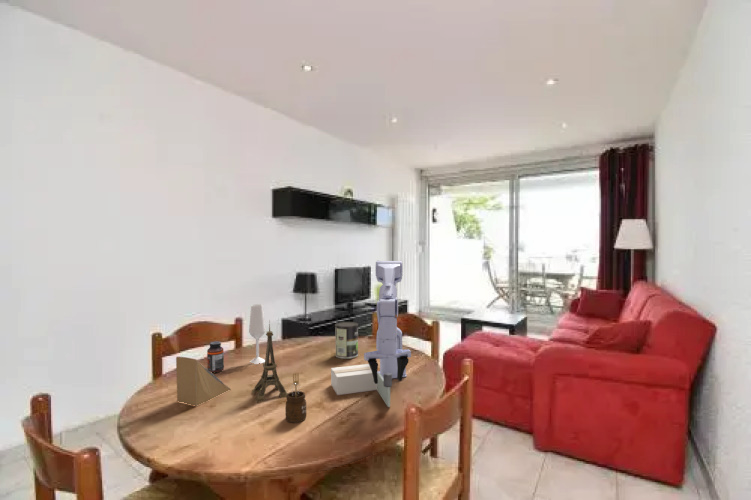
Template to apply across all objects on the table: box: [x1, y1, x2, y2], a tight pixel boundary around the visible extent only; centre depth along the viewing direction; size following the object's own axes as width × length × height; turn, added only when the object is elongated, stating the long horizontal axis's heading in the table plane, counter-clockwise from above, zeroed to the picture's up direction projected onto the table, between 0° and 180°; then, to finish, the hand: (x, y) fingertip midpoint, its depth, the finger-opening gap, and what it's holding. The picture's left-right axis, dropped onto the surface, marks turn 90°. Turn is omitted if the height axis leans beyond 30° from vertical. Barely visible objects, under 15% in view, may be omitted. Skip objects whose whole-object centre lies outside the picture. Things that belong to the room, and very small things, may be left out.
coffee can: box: [334, 321, 359, 360], centre depth 171 cm, size 10×10×14 cm
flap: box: [376, 372, 393, 408], centre depth 124 cm, size 14×3×10 cm, turn 14°
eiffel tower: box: [251, 319, 289, 403], centre depth 128 cm, size 11×11×25 cm
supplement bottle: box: [206, 340, 225, 373], centre depth 151 cm, size 6×6×11 cm
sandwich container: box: [175, 356, 232, 407], centre depth 127 cm, size 9×15×15 cm, turn 158°
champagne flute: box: [248, 303, 267, 365], centre depth 162 cm, size 7×7×24 cm
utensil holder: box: [284, 373, 307, 423], centre depth 110 cm, size 6×6×12 cm
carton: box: [330, 363, 377, 396], centre depth 134 cm, size 14×10×6 cm
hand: (387, 381), depth 118 cm, fingers open, 7 cm apart
